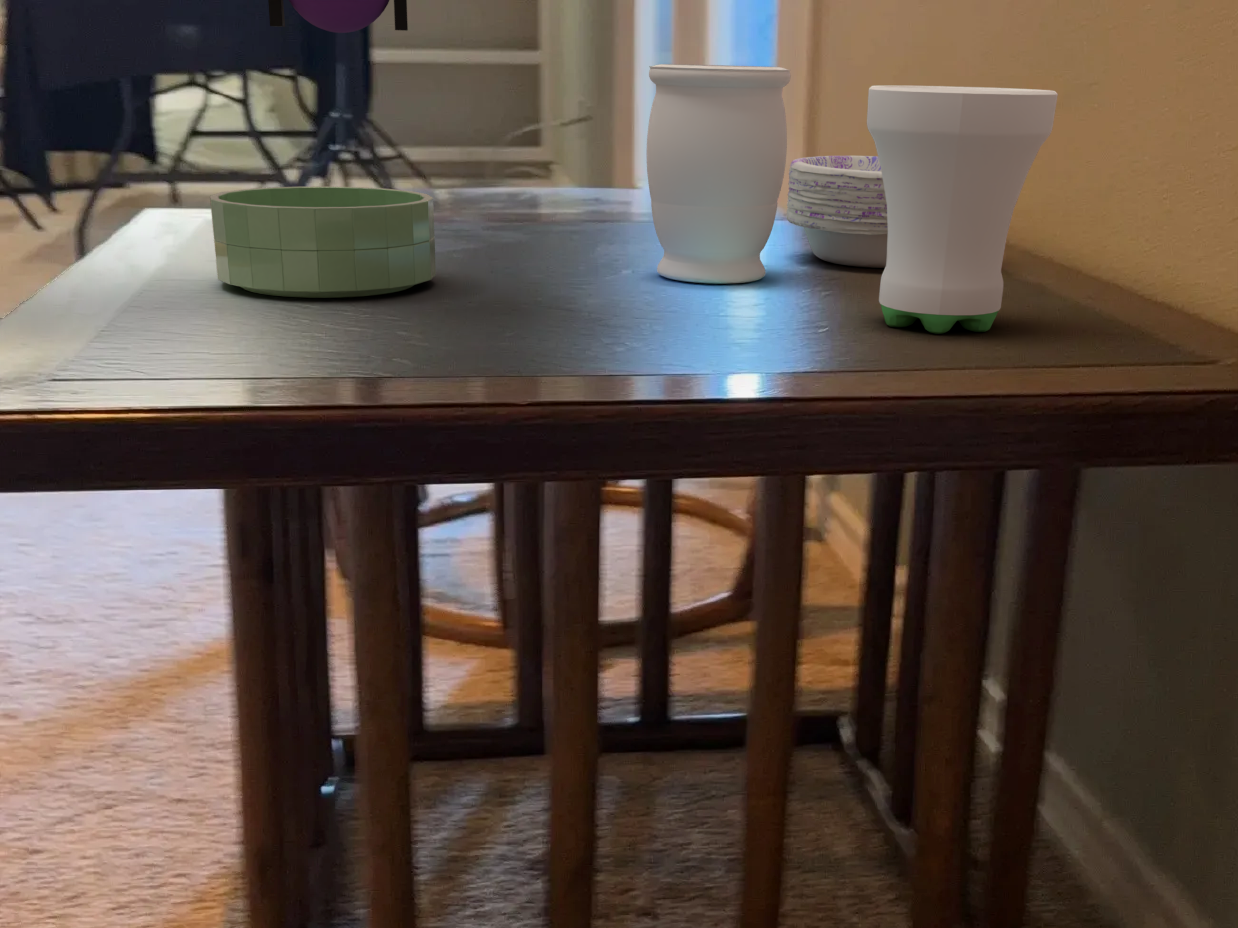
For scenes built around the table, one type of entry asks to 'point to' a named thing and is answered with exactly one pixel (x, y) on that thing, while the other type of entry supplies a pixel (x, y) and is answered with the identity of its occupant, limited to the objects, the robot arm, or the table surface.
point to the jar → (715, 168)
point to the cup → (951, 195)
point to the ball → (340, 13)
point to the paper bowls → (840, 208)
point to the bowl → (323, 240)
